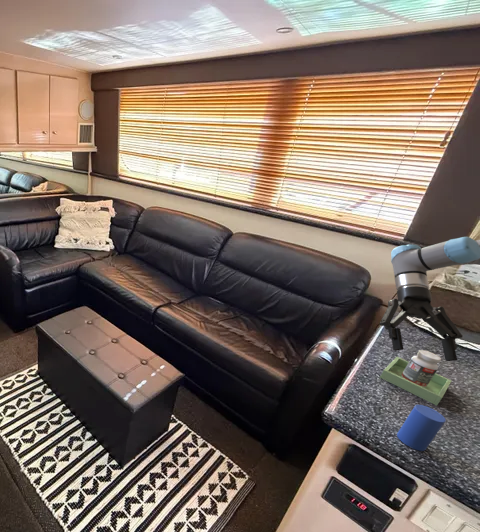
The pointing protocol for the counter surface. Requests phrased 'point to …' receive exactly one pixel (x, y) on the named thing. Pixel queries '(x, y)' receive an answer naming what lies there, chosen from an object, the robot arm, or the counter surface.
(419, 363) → the pill bottle
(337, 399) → the counter surface
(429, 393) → the sage tray
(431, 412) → the blue cylinder
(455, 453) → the counter surface
